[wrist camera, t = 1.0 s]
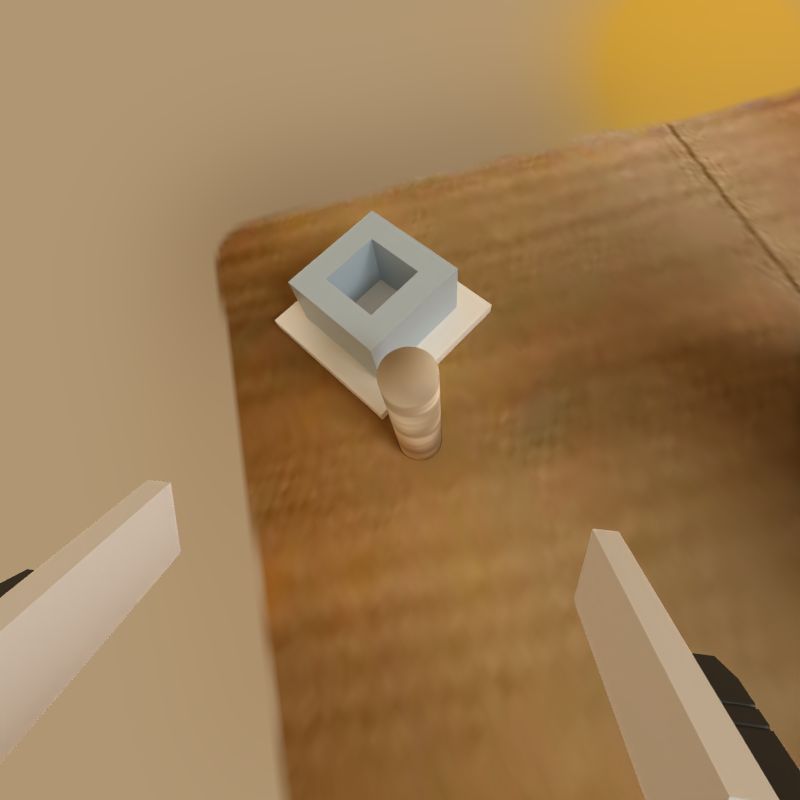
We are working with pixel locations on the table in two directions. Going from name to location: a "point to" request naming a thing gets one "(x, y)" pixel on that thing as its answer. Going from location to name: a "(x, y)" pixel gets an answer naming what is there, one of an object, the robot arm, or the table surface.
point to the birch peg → (412, 400)
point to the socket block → (378, 305)
